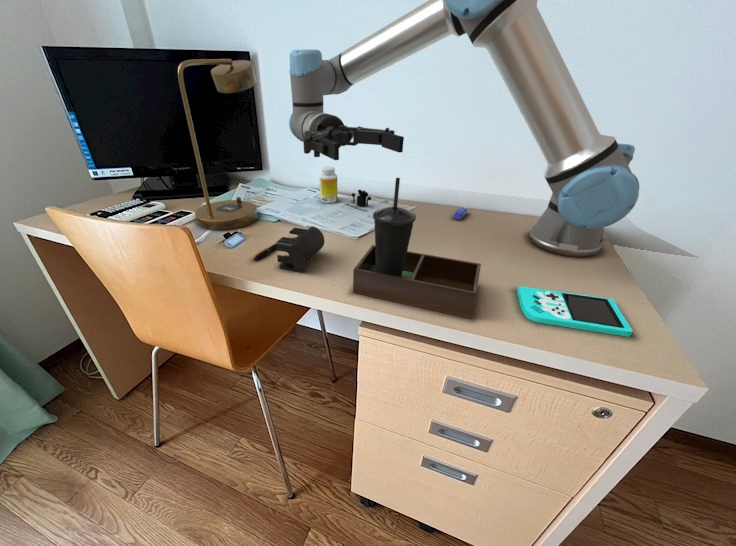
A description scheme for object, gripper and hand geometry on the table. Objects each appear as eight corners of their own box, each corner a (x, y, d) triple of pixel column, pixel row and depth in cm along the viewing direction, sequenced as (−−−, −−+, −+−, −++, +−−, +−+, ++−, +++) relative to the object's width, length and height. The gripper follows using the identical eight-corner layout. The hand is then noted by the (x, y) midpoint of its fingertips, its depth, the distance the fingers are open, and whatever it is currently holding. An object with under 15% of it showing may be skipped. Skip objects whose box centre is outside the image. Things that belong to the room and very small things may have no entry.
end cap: (306, 275, 73) (305, 246, 69) (277, 269, 75) (274, 240, 71) (325, 254, 81) (324, 227, 77) (298, 249, 83) (296, 223, 79)
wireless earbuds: (350, 204, 109) (350, 188, 106) (355, 202, 110) (355, 186, 107) (369, 209, 105) (370, 192, 102) (373, 206, 107) (374, 190, 104)
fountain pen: (289, 238, 88) (288, 233, 88) (292, 239, 88) (292, 234, 87) (251, 261, 78) (250, 255, 77) (255, 263, 78) (254, 257, 77)
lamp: (285, 202, 111) (272, 58, 89) (233, 234, 91) (200, 57, 69) (241, 196, 117) (219, 59, 95) (183, 224, 96) (138, 58, 75)
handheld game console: (516, 290, 67) (518, 284, 67) (610, 303, 64) (613, 297, 63) (523, 320, 60) (526, 314, 59) (631, 337, 56) (635, 331, 55)
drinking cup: (407, 292, 65) (421, 185, 54) (367, 288, 67) (372, 183, 55) (408, 272, 71) (421, 173, 60) (371, 269, 73) (377, 171, 61)
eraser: (467, 214, 101) (468, 207, 100) (460, 220, 97) (461, 213, 96) (460, 212, 102) (461, 206, 101) (453, 218, 98) (454, 212, 97)
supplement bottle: (339, 202, 111) (339, 169, 105) (323, 204, 109) (322, 171, 103) (334, 197, 115) (333, 165, 109) (318, 199, 113) (317, 166, 108)
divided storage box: (370, 266, 76) (372, 244, 73) (475, 287, 69) (481, 263, 66) (352, 292, 67) (353, 269, 64) (469, 318, 60) (476, 293, 57)
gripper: (370, 144, 85) (423, 162, 70) (273, 155, 77) (308, 177, 61) (372, 110, 81) (428, 120, 65) (269, 117, 73) (305, 131, 57)
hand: (370, 148), depth 63 cm, fingers open, 13 cm apart
